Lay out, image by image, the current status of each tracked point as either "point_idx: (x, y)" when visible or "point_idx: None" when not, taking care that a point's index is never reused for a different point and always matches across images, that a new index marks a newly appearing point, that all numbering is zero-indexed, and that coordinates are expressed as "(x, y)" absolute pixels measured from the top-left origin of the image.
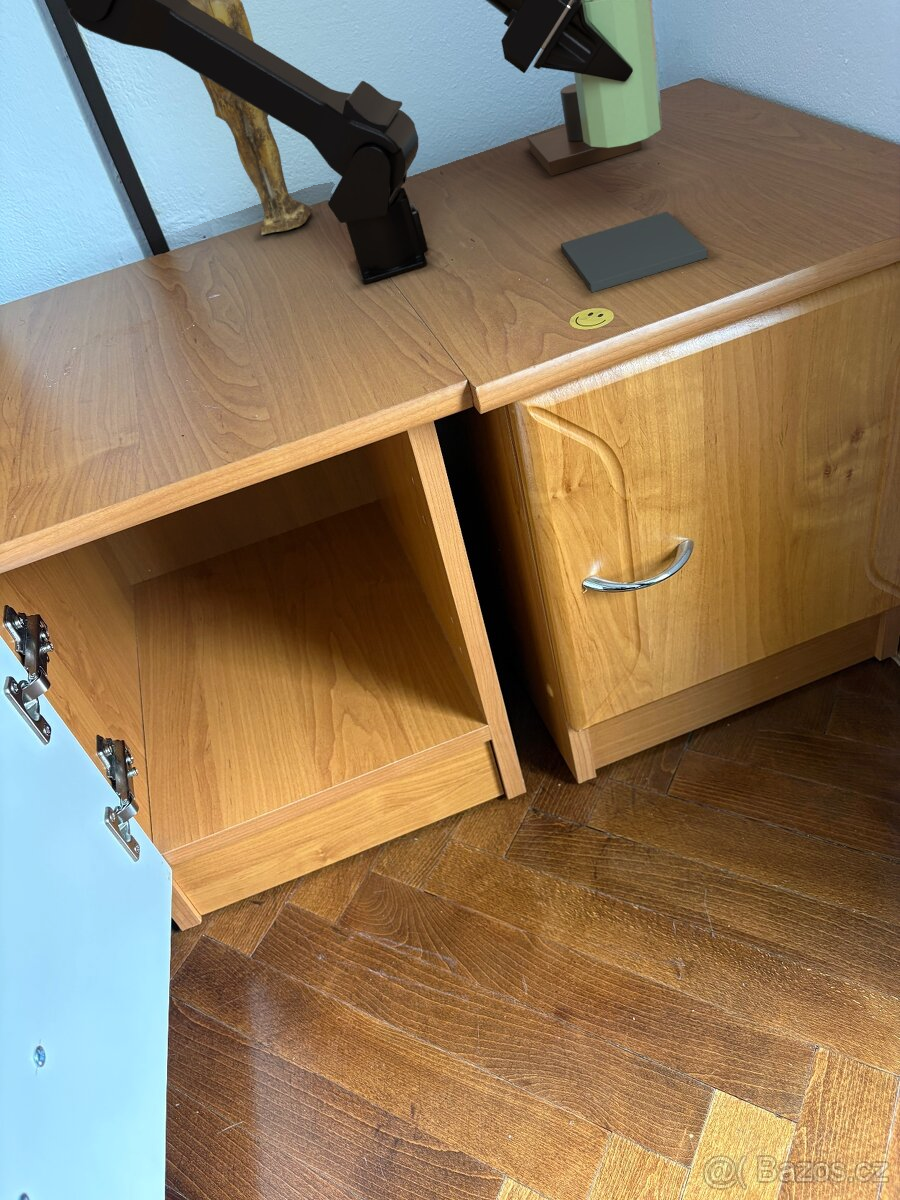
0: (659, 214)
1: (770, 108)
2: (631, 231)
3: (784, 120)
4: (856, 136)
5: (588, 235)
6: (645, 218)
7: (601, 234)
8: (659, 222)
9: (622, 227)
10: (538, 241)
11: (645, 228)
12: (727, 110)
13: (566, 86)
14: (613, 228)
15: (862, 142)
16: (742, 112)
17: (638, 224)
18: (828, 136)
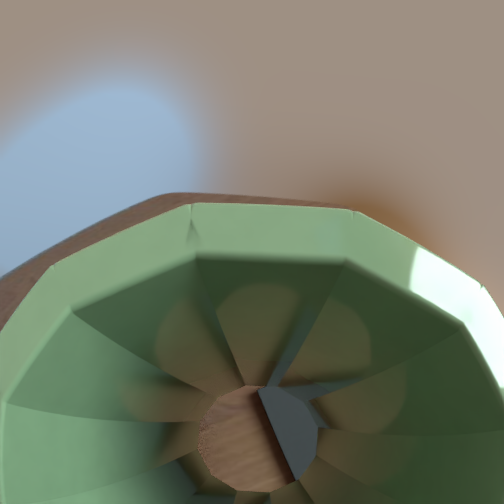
0: (263, 398)
1: (29, 268)
2: (305, 428)
3: (58, 259)
4: (134, 211)
5: (296, 478)
6: (270, 415)
7: (300, 463)
8: (291, 397)
9: (288, 440)
10: None
11: (302, 412)
12: (8, 301)
13: None
14: (287, 451)
15: (150, 207)
16: (20, 290)
17: (286, 422)
18: (117, 229)
